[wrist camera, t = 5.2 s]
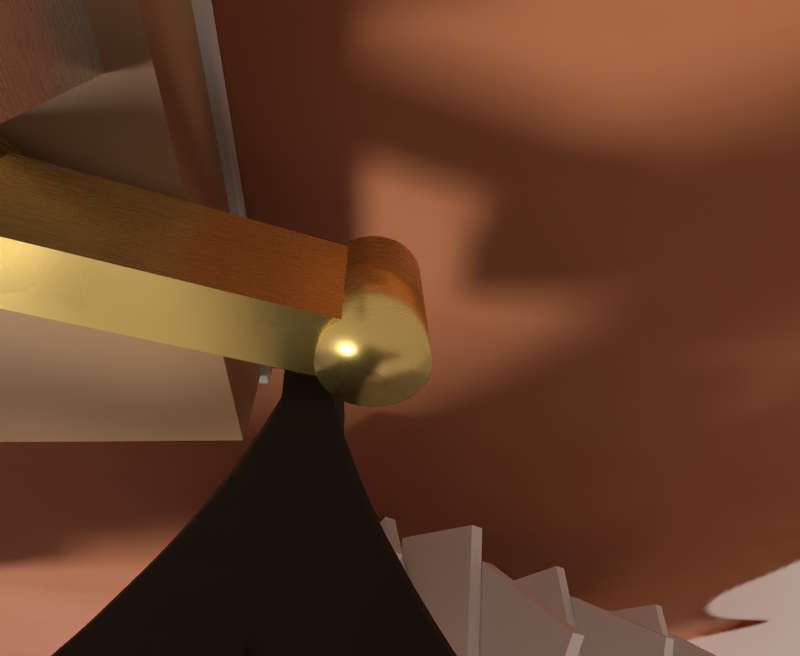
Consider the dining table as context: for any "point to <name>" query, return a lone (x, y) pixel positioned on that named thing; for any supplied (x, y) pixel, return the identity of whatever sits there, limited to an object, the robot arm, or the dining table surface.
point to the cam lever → (211, 281)
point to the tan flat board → (150, 170)
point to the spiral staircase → (521, 605)
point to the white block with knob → (43, 52)
